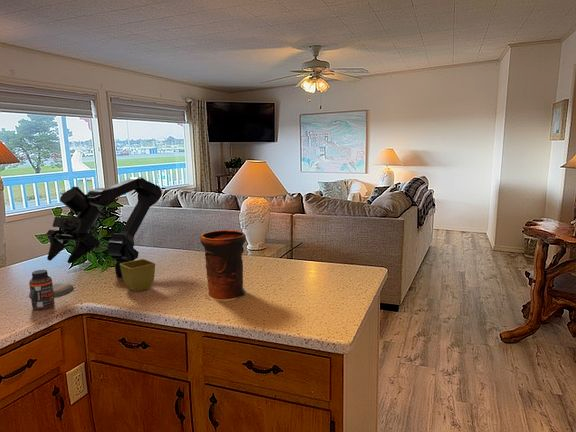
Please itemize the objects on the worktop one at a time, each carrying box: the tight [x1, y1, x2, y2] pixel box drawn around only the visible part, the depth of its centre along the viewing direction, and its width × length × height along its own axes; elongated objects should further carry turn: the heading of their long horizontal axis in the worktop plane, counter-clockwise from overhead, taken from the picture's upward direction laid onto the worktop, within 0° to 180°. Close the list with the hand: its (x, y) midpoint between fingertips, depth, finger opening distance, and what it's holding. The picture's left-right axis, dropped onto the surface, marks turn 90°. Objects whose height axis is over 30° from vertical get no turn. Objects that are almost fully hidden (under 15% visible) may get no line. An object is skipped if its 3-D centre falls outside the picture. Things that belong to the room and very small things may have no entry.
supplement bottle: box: [28, 269, 55, 311], centre depth 124 cm, size 6×6×11 cm
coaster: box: [28, 282, 74, 298], centre depth 137 cm, size 13×13×1 cm
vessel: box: [199, 229, 247, 302], centre depth 131 cm, size 14×14×20 cm
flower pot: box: [120, 258, 156, 293], centre depth 138 cm, size 9×9×9 cm
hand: (58, 261), depth 128 cm, fingers open, 9 cm apart
